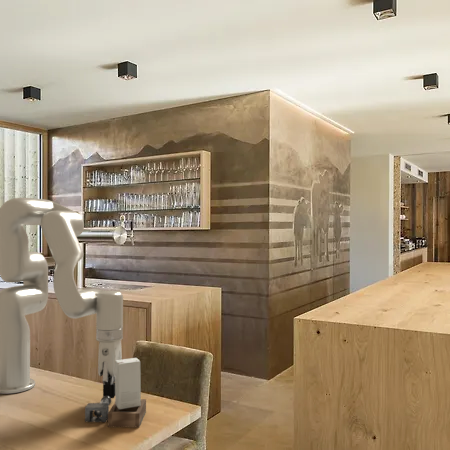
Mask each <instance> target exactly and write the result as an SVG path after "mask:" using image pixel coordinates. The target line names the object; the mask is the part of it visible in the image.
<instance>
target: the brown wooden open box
mask: <svg viewBox="0 0 450 450" xmlns="http://www.w3.org/2000/svg"><path fill="white" fill-rule="evenodd" d="M146 413H147V399H146V398H145V399H143V398H141V406H137V407H131V408H125V409H118V408H117V406H116V404H115V402H114V403H113V405H112V406H111V408H110V409H109V412H108V419H107V427H108V428H140V427H141V425H142V423H143V420H144V417H145V415H146Z"/></svg>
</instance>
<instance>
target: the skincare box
mask: <svg viewBox="0 0 450 450" xmlns="http://www.w3.org/2000/svg"><path fill="white" fill-rule="evenodd" d="M141 375H142V374H141V361H140V359H138V358H137V357H131V358H123V359H122V360H115V382H114V383H115V397H114V398H115V401H114V403H115V404H116V406H117V408H118V409H125V408H131V407H137V406H141V399H142V398H141V395H142V388H141V386H142V384H141V383H142V382H141Z"/></svg>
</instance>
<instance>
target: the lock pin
mask: <svg viewBox="0 0 450 450" xmlns="http://www.w3.org/2000/svg"><path fill="white" fill-rule="evenodd" d="M99 403H109V406H110V405H111V404H112V398H111V397H110V396H108V395H105V396H103V395H102V397H101V399H100V402H99ZM93 416H94V417H101V411H93Z"/></svg>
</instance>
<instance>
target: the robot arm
mask: <svg viewBox="0 0 450 450" xmlns="http://www.w3.org/2000/svg"><path fill="white" fill-rule="evenodd" d="M0 206H1V207H0V278H1V280H3V281H4V282H5V283H10V284H13V283H21V282H23V285H16V286H10V287H6V288H3V289H2V290H0V395H3V394H4V395H5V394H6V395H7V394H16V393H17V394H18V393H22V392H26V391H28V390H31V389H33V388H34V387H35V385H36V381H35V379H33V378H32V377H31V330H30V329H31V328H30V325H29V322H28V320H27V318H26V316H27V315H31V314H35V313H38V312H40V311H43V310H44V309H45V307H46V305H47V304H48V301H49V265H48V261H47V259H46V257H45V256H44V255H43V254H42V253H40V252H38V251H34V250H33V251H31V250H29V240H30V239H29V237H28V233H27V231H26V229H25V226H40V227H41V231H42V233H43V236H44V238H45V241H46V242H47V243H46V244H47V245H48V247H49V250H50V253H51V255H52V258H53V260H54V264H55V269H54V272H53V283H52V284H53V292H54V295H55V297H56V299H57V302H58V304H59V306H60V309H61V310H62V312H63V313H64V314H65V316H67V317H68V318H70V319H79V318H83V317H88V316H91V315H95V314H96V320H95V321H96V323H95V324H96V325H95V326H96V327H95V328H96V332H95V333H96V334H95V335H96V336H95V337H96V339H95V340H96V341H97V342H99V345H98V360H97V363H98V364H97V365H98V367H97V369H98V371H97V373H98V376H99V377H102V397H103V396H105V395H108V396H110V397H111V399H114V398H115V360H122V358H123V357H122V355H123V354H122V340H123V339H124V337H123V336H124V334H123V333H124V296H123V293H122V292H121V291H118V290H103V289H98V288H87V289H83V290H79V289H78V286H77V284H76V281H75V275H74V274H75V273H74V272H75V269H76V268H75V267H76V266H77V264H78V263H79V262H80V261H81V260H82V259H83V258H84V251H83V249H82V246H81V244H80V242H79V240H78V237H79V236H80V235H82V233H83V232H84V229H85V223H84V220H83V217H82V216H81V215H80V214H79V213H78V212H77V211H74V210H73V209H70V208H68V207H66V206H64V205H62V204H60V203H58V202H55V201H52V200H49V199H45V198H43V199H42V198H35V197H34V198H32V197H15V198H10V199H8V200H6V201H5V202H4V203H3V204H2V205H0Z"/></svg>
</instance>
